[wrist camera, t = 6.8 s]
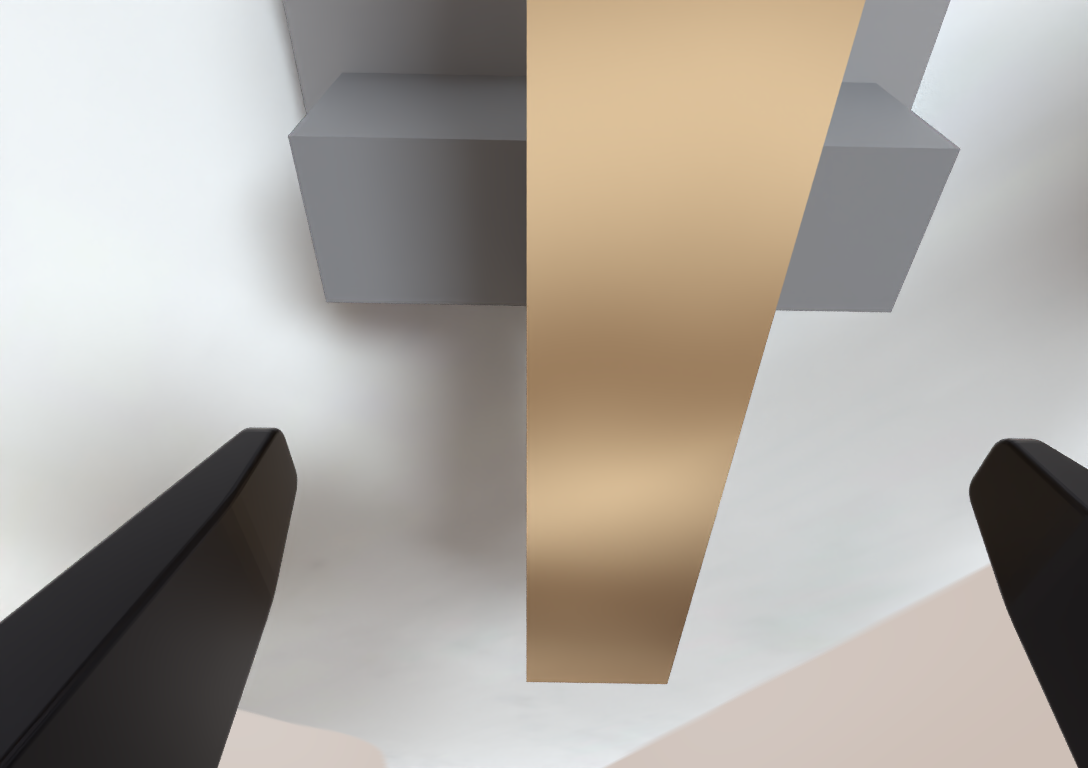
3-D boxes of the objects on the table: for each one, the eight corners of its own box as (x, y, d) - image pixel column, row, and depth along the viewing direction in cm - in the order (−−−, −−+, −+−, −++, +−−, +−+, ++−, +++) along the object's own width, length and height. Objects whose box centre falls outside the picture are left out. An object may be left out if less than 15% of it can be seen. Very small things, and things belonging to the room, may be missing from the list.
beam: (538, -661, 7) (527, -1083, 4) (886, -652, 7) (1174, -1062, 4) (530, 547, 19) (526, 681, 16) (648, 549, 20) (667, 684, 16)
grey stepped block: (940, -41, 14) (1084, 7, 10) (830, 281, 19) (899, 392, 16) (287, -54, 14) (189, -11, 10) (351, 272, 19) (302, 382, 15)
